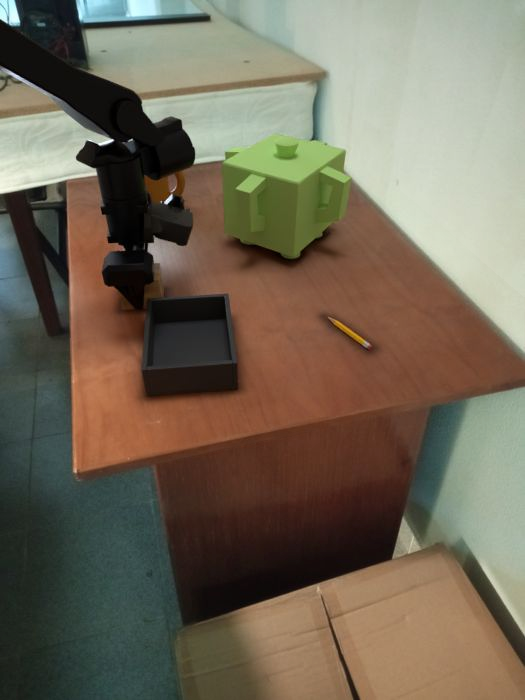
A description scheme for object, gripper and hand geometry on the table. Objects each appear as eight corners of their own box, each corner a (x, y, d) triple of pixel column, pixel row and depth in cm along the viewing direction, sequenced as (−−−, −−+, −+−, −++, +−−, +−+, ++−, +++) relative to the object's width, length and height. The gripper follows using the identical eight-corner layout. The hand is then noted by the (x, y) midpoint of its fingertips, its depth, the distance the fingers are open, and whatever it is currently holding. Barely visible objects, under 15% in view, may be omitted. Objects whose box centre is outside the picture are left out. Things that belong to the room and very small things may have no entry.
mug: (186, 214, 96) (182, 168, 90) (123, 216, 95) (115, 170, 89) (187, 194, 102) (183, 150, 96) (128, 196, 101) (120, 151, 95)
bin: (146, 396, 60) (141, 370, 57) (151, 323, 71) (146, 298, 68) (238, 389, 61) (237, 362, 58) (229, 318, 72) (228, 293, 69)
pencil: (368, 351, 67) (368, 347, 67) (325, 319, 72) (325, 316, 72) (372, 348, 68) (373, 345, 67) (329, 317, 73) (329, 313, 72)
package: (122, 310, 73) (115, 281, 70) (124, 292, 76) (118, 264, 73) (163, 307, 74) (159, 279, 70) (163, 290, 77) (159, 262, 73)
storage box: (266, 196, 102) (268, 107, 91) (367, 225, 93) (383, 131, 82) (190, 248, 86) (180, 148, 75) (303, 289, 78) (312, 184, 66)
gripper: (188, 222, 57) (197, 326, 68) (185, 160, 71) (193, 255, 82) (89, 227, 56) (114, 331, 67) (106, 163, 70) (125, 258, 80)
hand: (141, 290), depth 74 cm, fingers open, 9 cm apart
